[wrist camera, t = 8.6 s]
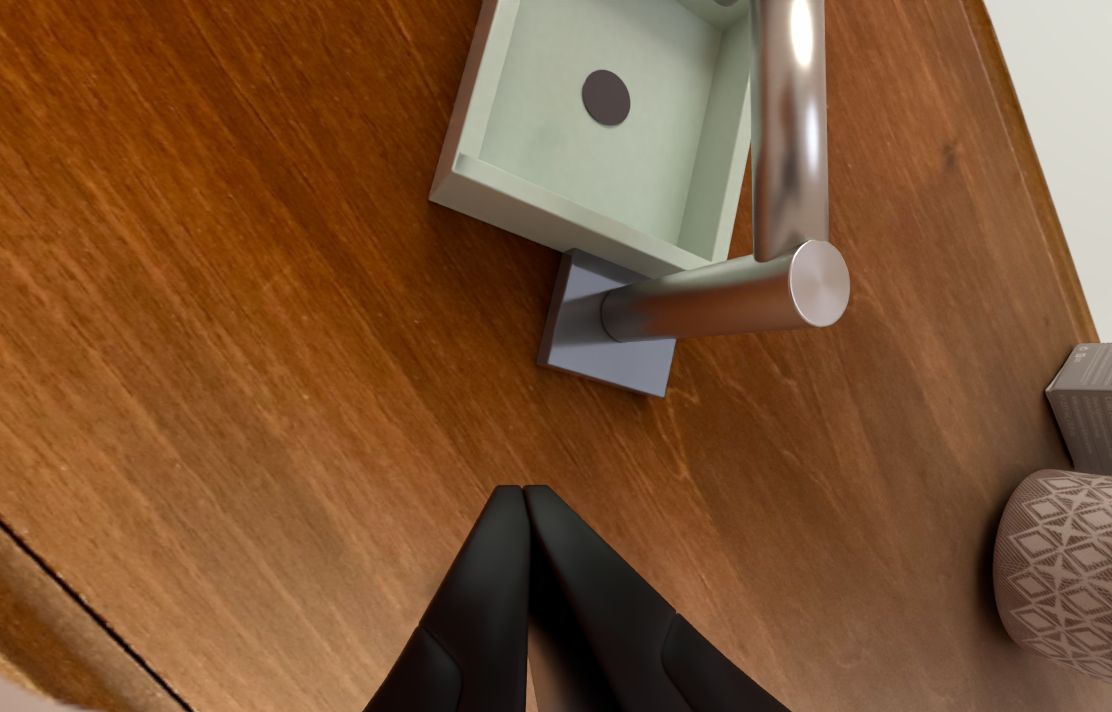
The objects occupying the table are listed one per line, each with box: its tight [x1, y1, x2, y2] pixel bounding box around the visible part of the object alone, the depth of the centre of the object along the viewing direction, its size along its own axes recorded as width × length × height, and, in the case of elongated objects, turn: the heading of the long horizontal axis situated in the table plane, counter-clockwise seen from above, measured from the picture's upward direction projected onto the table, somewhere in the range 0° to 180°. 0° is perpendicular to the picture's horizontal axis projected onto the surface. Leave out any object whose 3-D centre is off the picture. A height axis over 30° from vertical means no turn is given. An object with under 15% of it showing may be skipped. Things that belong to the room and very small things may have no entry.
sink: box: [428, 0, 751, 399], centre depth 23 cm, size 19×12×4 cm, turn 165°
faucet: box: [602, 0, 850, 343], centre depth 19 cm, size 13×2×10 cm, turn 1°
